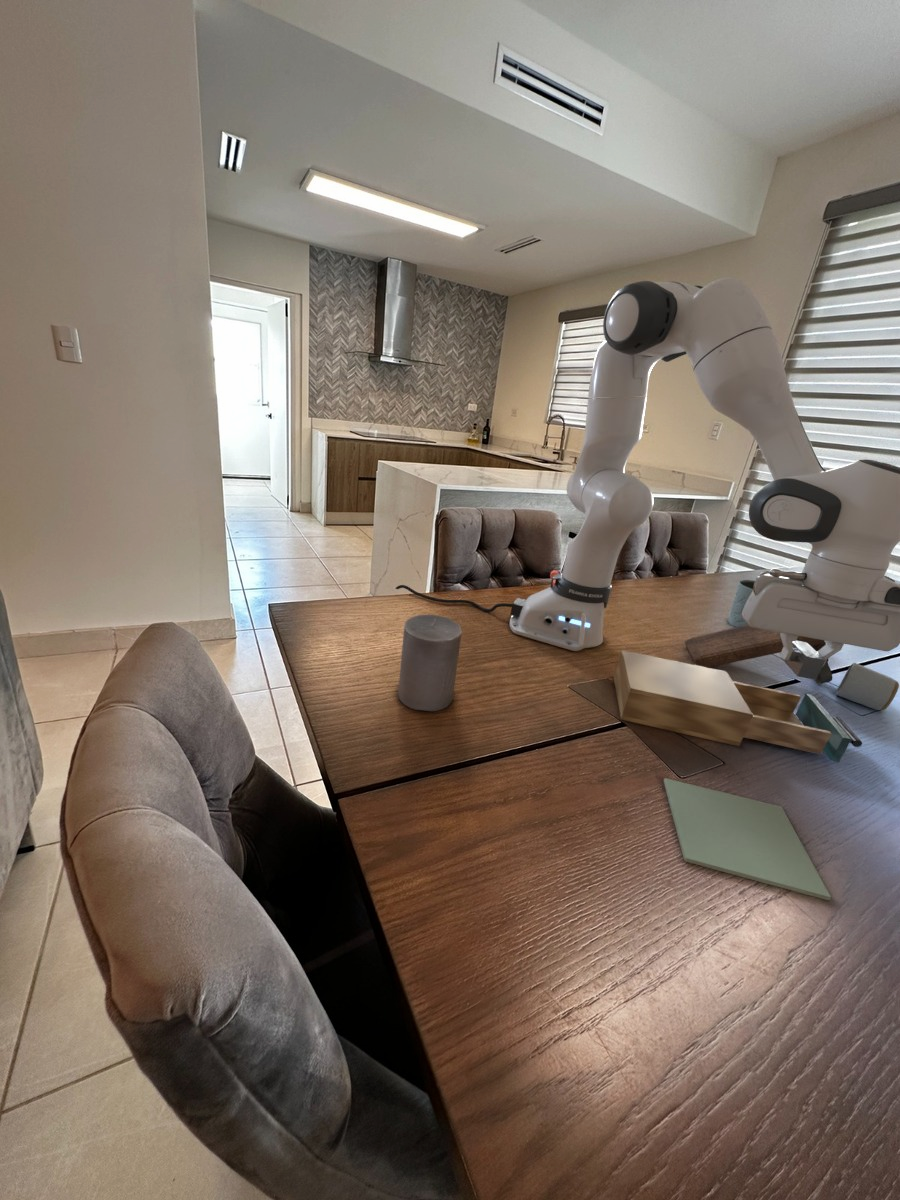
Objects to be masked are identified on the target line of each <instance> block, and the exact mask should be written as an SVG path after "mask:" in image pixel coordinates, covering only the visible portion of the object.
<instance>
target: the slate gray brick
mask: <svg viewBox="0 0 900 1200" xmlns="http://www.w3.org/2000/svg"><path fill="white" fill-rule="evenodd" d="M792 646H793V647H794V648H795V649H796V650H797V651H798V652H799V654H798V656H797V657H796V660H795V661H788V660H783V658H782V657H781V656H780V659H781V660H782V661H783V662H784V664H786V666H787V667H788V668H789V669H790V670H791V671H792V672H793V674H795V676H796V677H798V678H802V679H803V678H804V679H809V680H814V681H815V680H816V679H817V677H818V675H819V673H820V671H821V669H822V667H823V665H824V662H825V659H824V658H823V657H822V656H821V655H820V654H819V653H818V652H817V651H815V650H814V649H813V648H812V647H811V646H810V645H809V644H808V643H807V642H802V641H792Z"/></svg>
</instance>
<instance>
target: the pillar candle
mask: <svg viewBox="0 0 900 1200" xmlns="http://www.w3.org/2000/svg"><path fill="white" fill-rule="evenodd" d="M462 633H463V628H462V626H461V625H460V624H459V623H458V622H456V621H455V620H453V619H451V618H449V617H446V616H442V615H437V614H419V615H418V614H417V615H414V616H412V617H410V618H407V620H406V621H405V623H404V625H403V637H402V646H401V659H400V671H399V678H398V679H399V680H398V690H397V694H398V695H397V697H398V699H399V700H400V702H401V703H402V704H403V705H404V706H406V707H408V708H409V709H412V710H415V711H425V712H438V711H441V710H443V709H445V708H447V707H448V706H450V704H451V703H452V700H453V699H454V693H455V684H456V679H457V678H456V677H457V669H458V662H459V661H458V660H459V656H460V646H461V642H462V641H461V640H462Z"/></svg>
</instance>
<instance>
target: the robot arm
mask: <svg viewBox="0 0 900 1200" xmlns="http://www.w3.org/2000/svg"><path fill="white" fill-rule="evenodd" d="M602 324H603V325H602V329H603V336H604V340H603V341H602V342H601V343H600V345H599V346H598V348H597V351H596V354H595V358H594V361H593V365H592V369H591V375H590V379H589V387H588V394H587V395H588V396H587V404H586V405H587V406H586V415H585V428H584V436H583V441H582V446H581V450H580V453H579V456H578V459H577V463H576V466H575V468H574V471H573V472H572V473H571V475H570V476H569V478H568V480H567V482H566V494H567V497H568V499H569V501H570V502H571V504H572V505H573V506H574V508H575V509H577V511H579V512H581V513H582V514H584V520H583V523H582V525H581V527H580V529H579V531H578V533H577V534H576V536H575V537H573V538H572V539H571V540H570V541H569V543H568V545H567V549H566V555H565V558H564V562H563V563H564V564H563V567H562V571H561V572H560V573H559V571H558V570H555V569H553V570H552V571H551V572H550V575H549V577H550V579H551V580H550V586H549V587H547V588H545V589H543V590H541V591H537V592H536V593H532V594H531V595H529V596H528V597H527V599H525V598H520V597H516V599H515V600H514V601H513V602H512V603H507V602H505V603H504V602H500V603H496V604H494V605H493V606H492V607H491V608H485V607H483V606H481V605H479V604H478V603H476V602H474V601H472V600H468V599H443V598H437V597H433V596H430V595H426V594H424V593H421V592H418V591H416V590H414V589H412V588H411V587H410V586H408V585H405V584H399V585H397V586H396V587H395V589H394V590H400V589H405V590H407V591H408V592H410V593H412V594H413V595H415V596H418V597H421V598H424V599H427V600H429V601H433V602H438V603H447V604H455V603H456V604H458V603H459V604H461V603H462V604H469V605H471V606H473V607H475V608H477V609H479V610H481V611H483V612H486V613H491V612H494V611H495V610H496V609H497V608H502V607H505V608H511V609H510V619H509V624H508V625H509V628H510V630H511V632H512V633H514V634H515V635H518V636H521V637H524V638H528V639H531V640H536V641H539V642H541V643H545V644H549V645H551V646H556V647H559V648H562V649H566V650H569V651H572V652H579V651H581V650H583V649H590V648H595V647H598V646H600V645H602V644H603V642H604V619H605V618H604V617H605V611H606V608H607V607H608V604H609V601H610V596H611V593H612V580H613V576H614V574H615V573H614V572H615V569H616V565H617V562H618V559H619V555H620V553H621V551H622V549H623V546H624V545H625V544H626V542H627V539H628V538H629V537H630V535H631V534H632V532H634V530H635V529H637V528H638V527H640V526H642V525H643V524H644V523H645V522H646V521H647V520H648V518H649V517H650V516H651V514H652V511H653V509H654V503H655V502H654V495H653V492H652V491H651V489H650V488H649V487H648V486H647V484H646V483H644V482H643V481H642V480H641V479H640V478H638V477H637V476H635V475H634V474H633V475H632V474H630V473H628V472H625V469H626V465H627V462H628V459H629V458H630V457H629V456H630V454H631V452H632V450H633V449H634V447H635V446H637V444H638V443H640V440H641V438H642V434H643V428H644V420H645V413H646V404H647V398H648V397H647V396H648V389H649V381H650V375H651V371H652V369H653V368H654V366H655V365H656V364H657V363H658V362H659V361H660V360H662V361H663V362H665V363H669V362H671V361H673V360H676V359H678V358H680V357H682V356H685V355H687V357H688V359H689V363H690V365H691V369H692V371H693V374H694V376H695V379H696V382H697V385H698V386H699V388H700V390H701V393H702V394H703V396H704V397H705V398H706V400H707V401H708V402H709V404H710V406H711V407H712V408H713V409H714V410H715V411H716V412H718V413H720V414H722V415H723V416H724V417H727V418H728V419H730V420H732V421H734V422H736V423H737V424H738V425H740V426H741V427H742V428H744V429H745V430H746V432H748V433H749V434H750V435H751V437H752V438H753V439H754V440H755V442H756V444H757V446H758V448H759V450H760V453H761V454H762V456H763V458H764V461H765V464H766V465H767V468H768V470H769V472H770V474H771V477H772V479H773V480H772V481H769V482H767V483H766V484H764V485H762V487H761V488H759V489H758V490H757V491H756V493H754V495H753V497H752V499H751V501H750V503H749V506H748V518H749V522H750V525H751V526H752V528H753V529H754V531H756V533H758V534H759V535H760V536H762V537H764V538H766V539H768V540H772V541H774V542H779V543H780V542H781V543H805V544H810V545H811V550H810V552H809V554H808V557H807V559H806V562H805V564H804V566H803V569H802V571H801V572H800V571H795V570H794V571H793V570H783V569H780V568H771V569H770V570H765V571H762V572H761V573H759V574H757V576H756V579H755V580H754V581H755V583H754V586H753V591H752V593H751V595H750V596H749V598H748V600H747V602H746V604H745V606H744V608H743V611H742V616H743V618H744V620H745V621H746V623H747V624H748V625H749V626H750V627H753V628H758V629H764V630H769V631H775V632H781V634H780V635H781V639H782V643H783V646H784V647H783V649H782V652H780V658H781V657H782V658H783V660H788V661H795V660H796V657H797V656H798V654H799V652H798V651H797V650H796V649H795V648H794V647H793V646H792V641H796V640H797V638H798V636H803V637H808V638H814V639H820V640H825V641H824V642H825V643H826V645H825V646H824V647H822V648H821V649H820V650H819V651H817V652H818V653H819V654H820V655H821V656H822V657H823V658H824V659H825V662H826V660H827V658H828V659H829V658H831V657H832V656H834V655H835V654H837V653H839V652H840V651H842V649H843V646H844V645H849V646H853V647H854V646H855V647H858V648H859V647H860V648H865V649H871V650H875V651H881V652H891V651H892V650H894V649H896V648H897V647H899V645H900V583H899V582H897V581H896V580H895V579H892V578H891V577H889V576H887V575H886V573H887V571H888V570H889V569H888V568H889V566H890V560H891V559H890V558H891V556H892V555H891V554H892V552H893V550H894V549H895V547H896V546H897V545H898V544H899V543H900V466H898V465H894V464H890V463H886V462H882V461H878V460H874V459H867V458H864V459H858V460H855V461H853V462H850V463H848V464H846V465H842V466H840V467H836V468H832V469H828V470H826V468H825V467H824V466H823V464H822V463H821V462H820V460H819V458H818V456H817V453H816V451H815V449H814V447H813V444H812V443H811V440H810V439H809V436H808V434H807V432H806V429H805V427H804V425H803V424H802V420H801V417H800V415H799V413H798V410H797V409H796V407H795V402H794V399H793V395H792V391H791V389H790V388H791V387H790V385H789V381H788V377H787V374H786V368H785V365H784V361H783V357H782V354H781V353H782V352H781V350H780V347H779V344H778V341H777V338H776V335H775V333H774V331H773V328H772V325H771V323H770V321H769V319H768V316H767V315H766V313H765V310H764V308H763V307H762V305H761V304H760V302H759V300H758V299H757V297H756V296H755V294H754V293H753V291H752V290H751V288H749V286H748V285H747V283H746V282H745V281H743V280H742V279H740V278H737V277H732V276H728V277H722V278H718V279H716V280H713V281H711V282H709V283H707V284H706V285H705V286H702V285H693V284H689V283H687V282H681V281H674V280H669V281H650V280H641V281H635V282H632V283H629V284H627V285H623V286H622V287H621V288H619V289H618V290H617V291H616V292H615V293H614V294H613V296H612V297H611V298H610V300H609V302H608V304H607V306H606V309H605V311H604V315H603V321H602ZM783 660H782V661H783ZM825 662H824V664H825ZM823 666H824V665H823Z"/></svg>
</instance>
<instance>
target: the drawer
mask: <svg viewBox="0 0 900 1200" xmlns="http://www.w3.org/2000/svg"><path fill="white" fill-rule="evenodd" d="M732 681H733V683H734V685H735V686H736V688H737V689H738V691H739V693H740V694H741V696H742V697H743V699H744V701H745V702H746V704H747V705H748V707H749V709H750V710H751V712H752V714H753V717H752V718H751V721H750V723H749V726H748V728H747V730H746V732H745V735H744V737H743V738H745V739H749V740H754V741H759V742H764V743H768V744H772V745H778V746H782V747H786V748H791V749H795V750H799V751H804V752H807V753H808V752H809V753H811V754H816V755H822V754H823V753H822V752H824V754H825V755H826V757H827V758H828V759H829V760H830V762H835V763H840V761H841V759H842V758H843V755H844V754H845V752H846V750H847V748H848V747H849V745H850V744H851V745H852V746H853V747H854V748H859V747H862V745H863V741H862V740H861V739H860V738H859V737H858V736H857V734H855V732H853V730H852V729H851V728H850V727H849V726H848V725H847V724H846V722H845V721H844V720H843V719H842V718H841V716H831V714H830V713H829V712H828V711H827V710H826V709H825V707H824V706H823V705H822V704H821V703H820V701H819V700H817V698H816V697H815V696H814V695H813V694H810V693H804V696H803V698H802V699H801V695H800V694H797V693H793V692H788V691H782V690H778V689H773V688H768V687H764V686H758V685H753V684H748V683H745V682H739V681H734V680H732ZM800 700H801V702H800ZM799 702H800V704H799ZM798 704H799V706H798ZM797 706H798V708H797ZM796 708H797V711H796V712H795V710H796ZM794 712H795V713H794Z"/></svg>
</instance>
